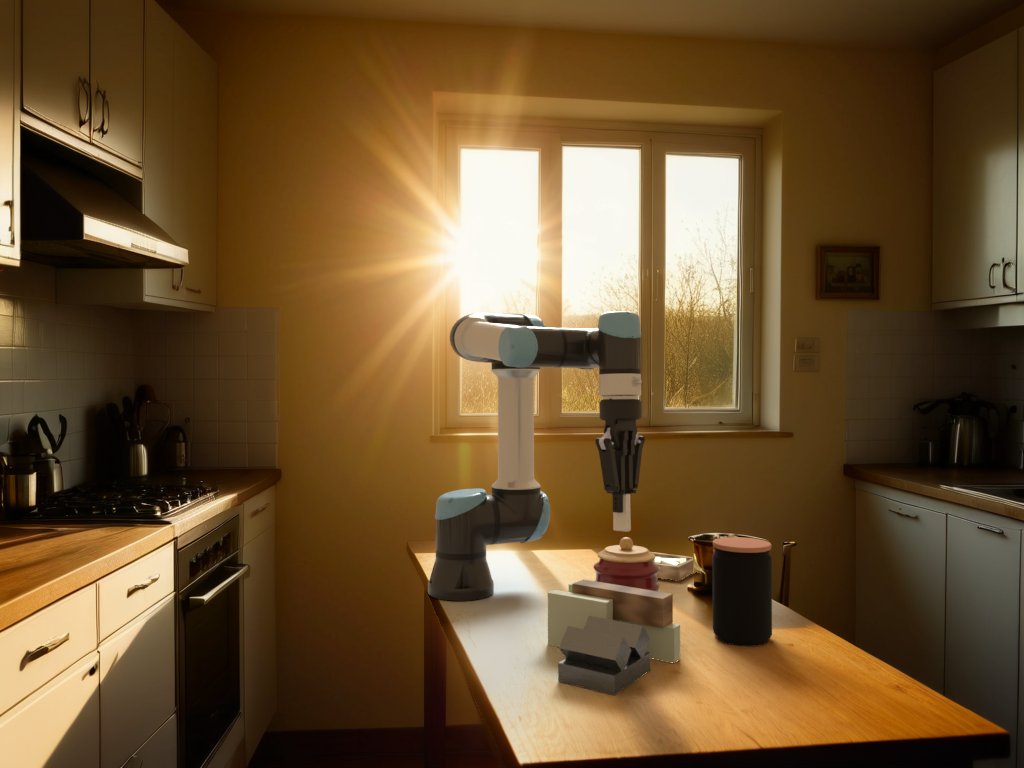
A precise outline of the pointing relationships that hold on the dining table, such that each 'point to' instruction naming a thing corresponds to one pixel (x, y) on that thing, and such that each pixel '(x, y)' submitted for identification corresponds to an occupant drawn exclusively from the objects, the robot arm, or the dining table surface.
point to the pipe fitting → (669, 561)
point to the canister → (627, 566)
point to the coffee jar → (742, 591)
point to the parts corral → (674, 567)
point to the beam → (578, 607)
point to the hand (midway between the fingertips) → (622, 530)
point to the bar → (631, 602)
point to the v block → (604, 655)
